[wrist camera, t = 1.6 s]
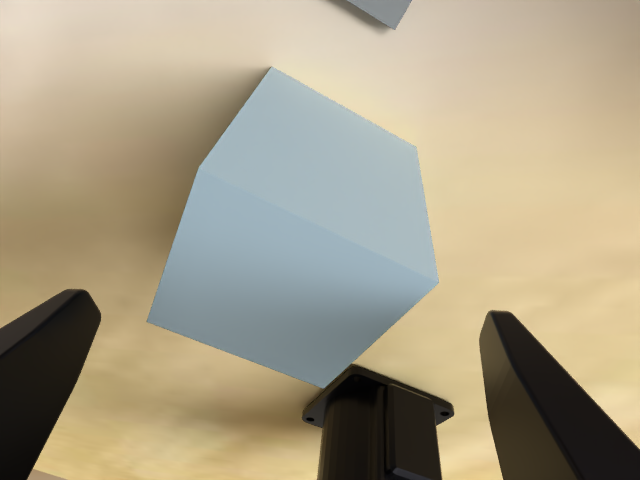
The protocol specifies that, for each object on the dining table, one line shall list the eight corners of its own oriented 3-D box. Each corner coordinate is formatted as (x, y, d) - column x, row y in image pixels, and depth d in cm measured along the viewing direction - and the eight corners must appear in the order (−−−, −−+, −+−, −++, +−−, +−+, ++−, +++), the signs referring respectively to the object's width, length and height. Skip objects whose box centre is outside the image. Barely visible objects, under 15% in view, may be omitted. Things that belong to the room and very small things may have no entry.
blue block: (340, 247, 15) (323, 388, 11) (221, 192, 14) (146, 321, 10) (416, 146, 12) (439, 282, 8) (272, 65, 11) (198, 167, 7)
